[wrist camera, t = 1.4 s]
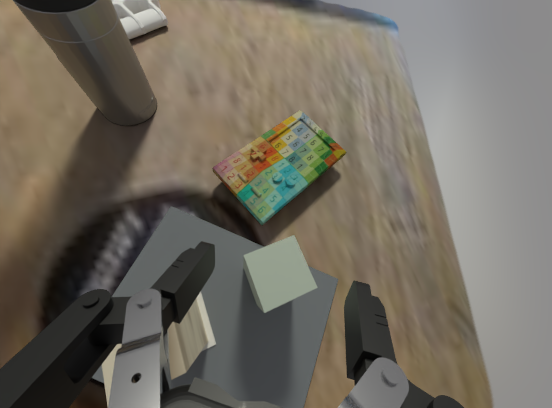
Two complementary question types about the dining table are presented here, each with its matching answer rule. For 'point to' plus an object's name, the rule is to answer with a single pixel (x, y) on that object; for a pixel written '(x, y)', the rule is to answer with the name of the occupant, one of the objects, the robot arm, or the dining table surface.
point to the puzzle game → (278, 165)
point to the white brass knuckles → (139, 16)
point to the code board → (239, 316)
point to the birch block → (172, 346)
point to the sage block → (278, 273)
